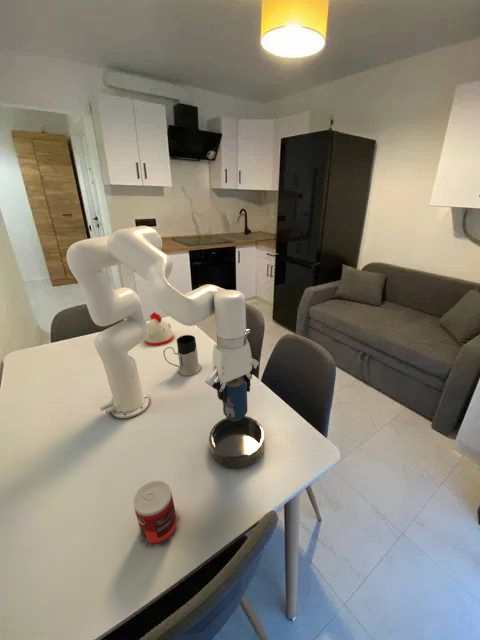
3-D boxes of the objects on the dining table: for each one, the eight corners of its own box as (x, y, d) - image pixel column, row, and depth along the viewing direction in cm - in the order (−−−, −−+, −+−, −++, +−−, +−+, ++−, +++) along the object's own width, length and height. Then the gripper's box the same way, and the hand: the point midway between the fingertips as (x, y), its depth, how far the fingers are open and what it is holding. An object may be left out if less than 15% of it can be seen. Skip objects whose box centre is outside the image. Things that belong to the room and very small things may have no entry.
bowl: (227, 480, 79) (226, 468, 77) (201, 441, 91) (200, 430, 89) (274, 450, 88) (274, 439, 86) (245, 418, 100) (244, 408, 98)
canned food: (147, 511, 71) (139, 481, 67) (180, 508, 72) (174, 478, 67) (137, 546, 64) (127, 516, 60) (174, 543, 65) (167, 512, 60)
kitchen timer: (157, 348, 142) (152, 321, 136) (139, 341, 149) (134, 314, 143) (178, 337, 153) (175, 311, 146) (161, 330, 160) (157, 305, 153)
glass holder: (203, 370, 125) (200, 340, 119) (170, 382, 118) (165, 350, 111) (195, 361, 132) (191, 332, 125) (164, 372, 124) (158, 341, 118)
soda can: (246, 404, 87) (245, 371, 82) (249, 420, 81) (248, 386, 76) (223, 406, 86) (220, 373, 81) (224, 424, 80) (221, 389, 75)
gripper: (251, 324, 81) (252, 376, 88) (193, 342, 72) (200, 399, 79) (267, 334, 75) (267, 389, 83) (207, 356, 66) (213, 415, 74)
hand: (234, 394), depth 81 cm, fingers closed on soda can, 7 cm apart
